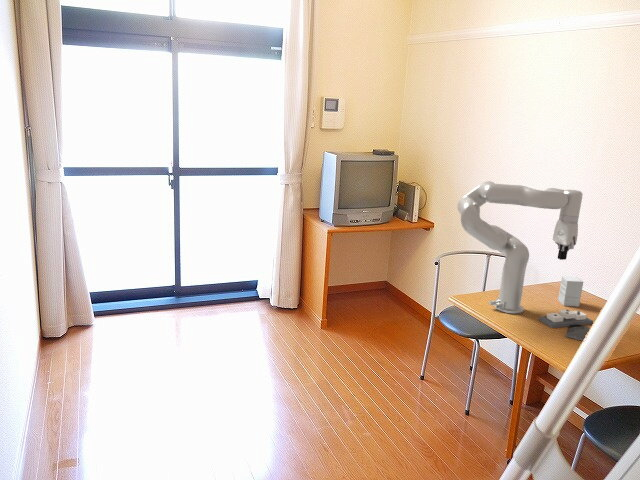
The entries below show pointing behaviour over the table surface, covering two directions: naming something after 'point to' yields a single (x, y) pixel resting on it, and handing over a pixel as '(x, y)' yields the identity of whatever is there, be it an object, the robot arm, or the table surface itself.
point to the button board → (565, 322)
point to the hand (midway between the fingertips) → (561, 258)
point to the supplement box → (570, 291)
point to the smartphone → (577, 332)
